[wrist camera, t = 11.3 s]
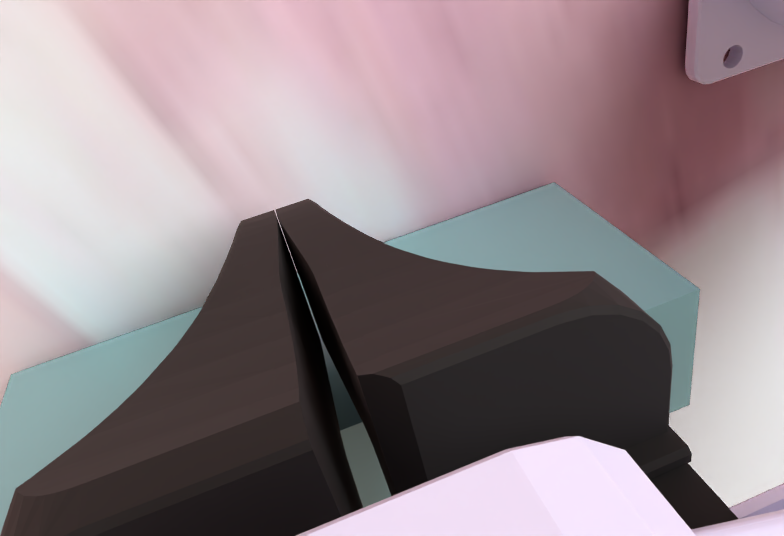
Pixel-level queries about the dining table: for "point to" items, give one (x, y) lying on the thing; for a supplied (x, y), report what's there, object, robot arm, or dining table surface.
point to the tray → (439, 242)
